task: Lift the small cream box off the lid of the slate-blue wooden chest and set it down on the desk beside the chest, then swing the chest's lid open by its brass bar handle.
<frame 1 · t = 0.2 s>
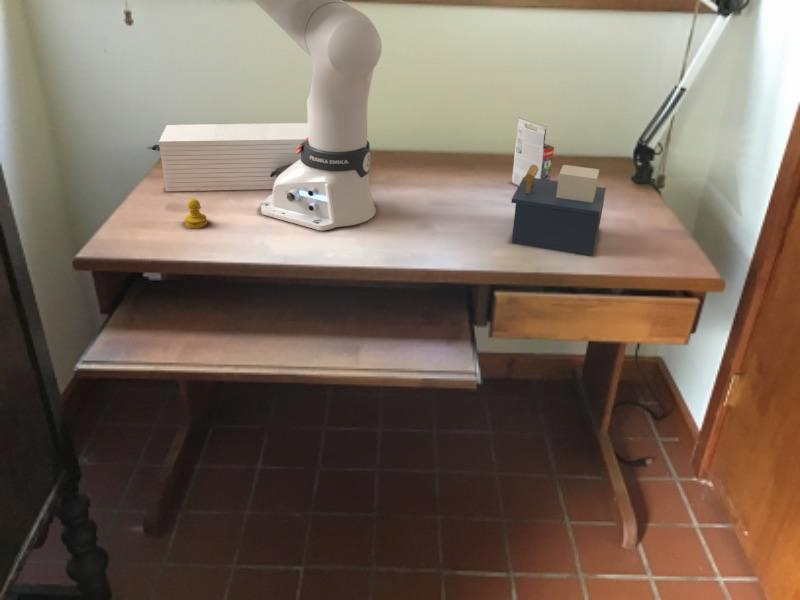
chess piece: (196, 225, 142), on the table
white ribbed box: (246, 181, 162), on the table
cream box: (575, 195, 136), point 9 cm above the table, touching lid
chest: (556, 236, 141), on the table
ink box: (529, 188, 162), on the table
lid: (560, 185, 136), point 10 cm above the table, hinge at 0.0°, touching cream box
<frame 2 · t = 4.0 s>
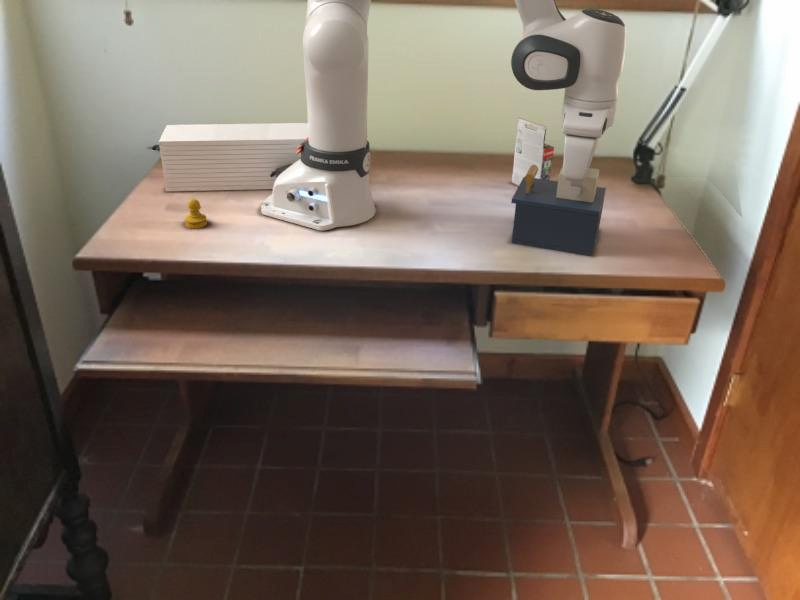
hand: (576, 187, 135), 10 cm above the table, tool pointing down, fingers closed on cream box, 5 cm apart
cream box: (576, 195, 136), point 9 cm above the table, touching gripper, lid
everything else where it was.
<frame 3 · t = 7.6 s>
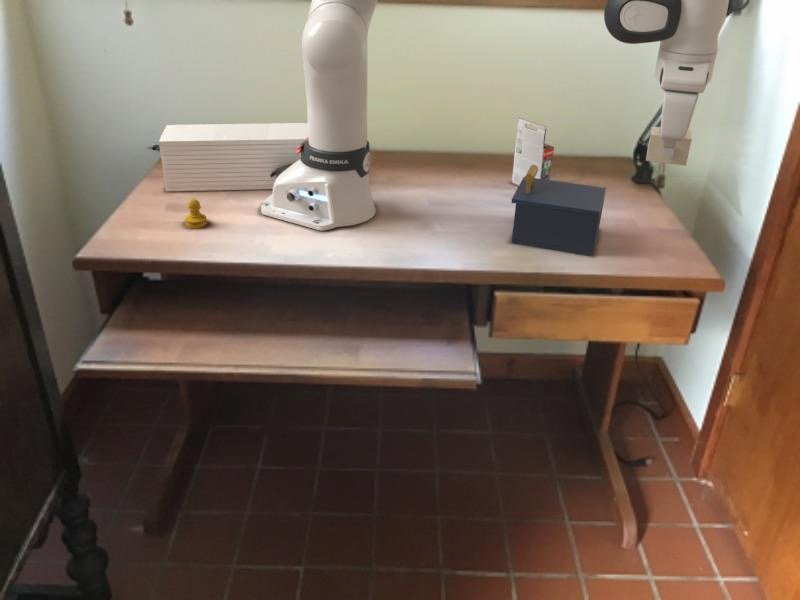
hand: (667, 150, 127), 19 cm above the table, tool pointing down, fingers closed on cream box, 5 cm apart
cream box: (666, 158, 128), point 17 cm above the table, touching gripper
lid: (560, 185, 136), point 10 cm above the table, hinge at -0.1°
everything else where it was.
when the fingers open (1 cm above the table, at t = 11.2 s): cream box stays where it is, on the table.
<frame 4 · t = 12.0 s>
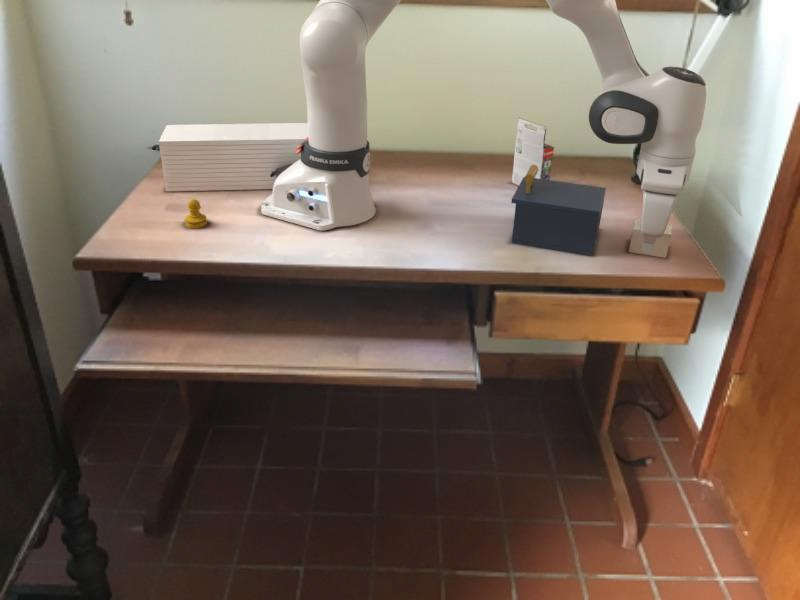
hand: (648, 239, 136), 2 cm above the table, tool pointing down, fingers open, 8 cm apart
cream box: (647, 249, 137), on the table
everything else where it was.
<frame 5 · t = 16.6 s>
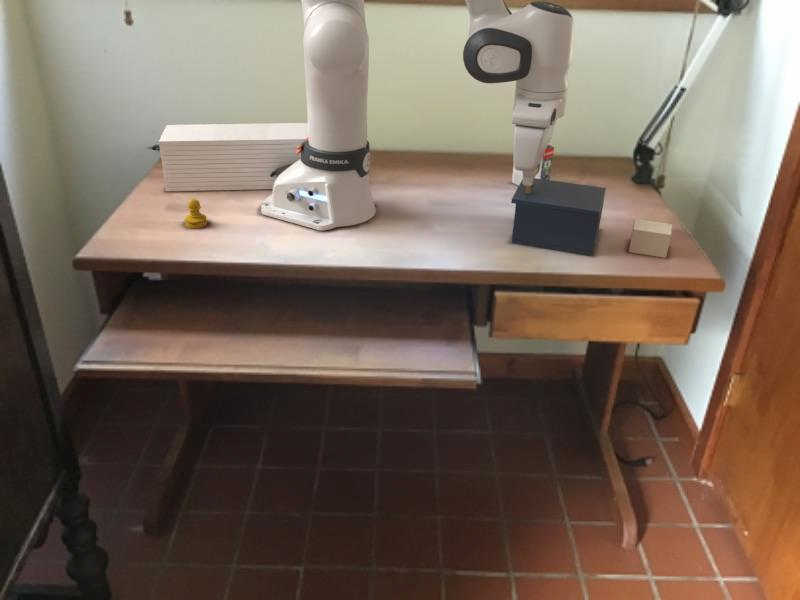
hand: (530, 178, 137), 11 cm above the table, tool pointing down, fingers closed on lid, 5 cm apart
lid: (560, 185, 136), point 10 cm above the table, hinge at -0.1°, touching gripper
everything else where it was.
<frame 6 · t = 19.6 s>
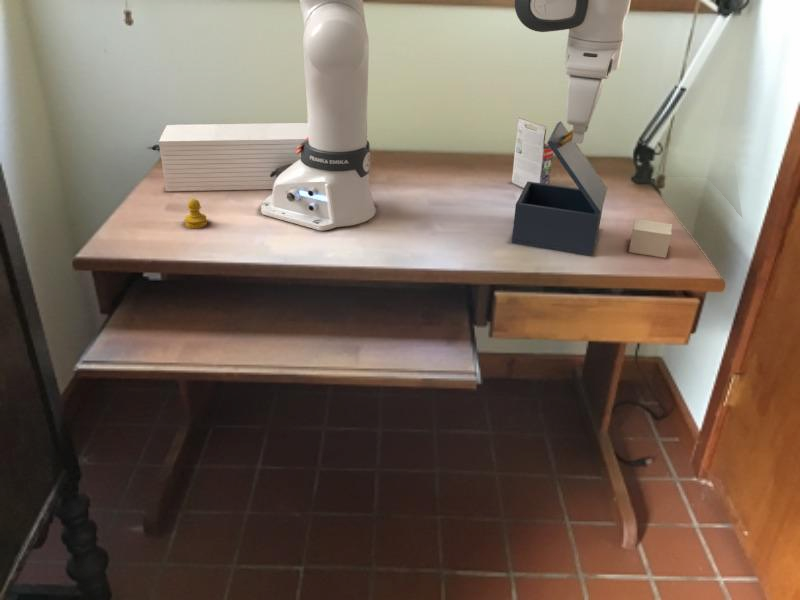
hand: (579, 136, 130), 20 cm above the table, tool pointing down, fingers closed on lid, 5 cm apart
lid: (587, 161, 132), point 15 cm above the table, hinge at 48.8°, touching gripper
everything else where it was.
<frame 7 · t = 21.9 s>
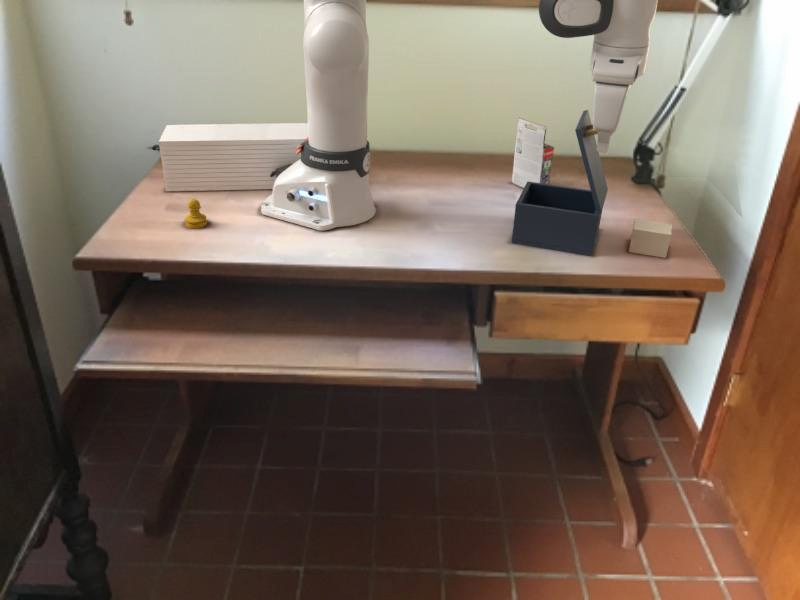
hand: (604, 142, 130), 19 cm above the table, tool pointing down, fingers open, 8 cm apart
lid: (603, 158, 131), point 16 cm above the table, hinge at 68.1°
everything else where it was.
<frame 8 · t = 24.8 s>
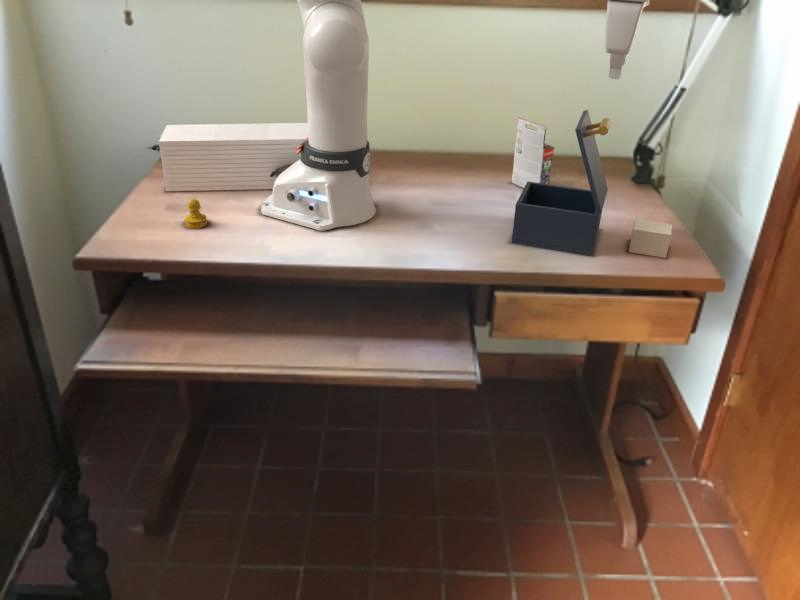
hand: (616, 71, 123), 31 cm above the table, tool pointing down, fingers open, 8 cm apart
nothing on the table moved.
at the end: cream box inside the target area (0.1 cm from its centre), on the table; cream box tilted 0°; lid at +68° (first picture: +0°) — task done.
